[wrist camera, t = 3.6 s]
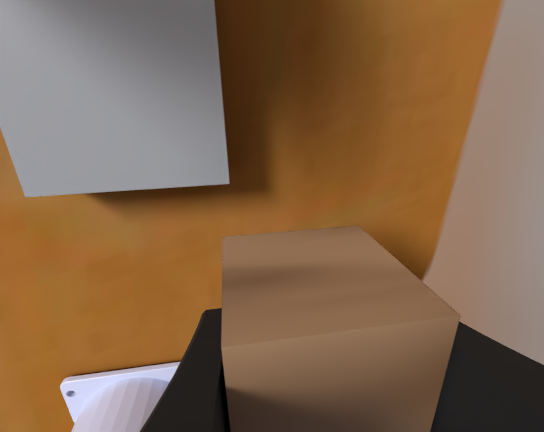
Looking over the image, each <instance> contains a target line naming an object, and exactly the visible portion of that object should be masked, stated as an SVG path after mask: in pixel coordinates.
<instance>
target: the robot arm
mask: <svg viewBox="0 0 544 432" xmlns="http://www.w3.org/2000/svg"><path fill="white" fill-rule="evenodd" d="M221 335H222V308H219V309H211V310H206V311H205V312H204V313H203V314H202V316H201V319H200V322H199V324H198V327H197V329H196V331H195V334H194V336H193V338H192V340H191V342H190V344H189V346H188V348H187V350H186V352H185V354H184V356H183V358H182V360H181V362H174V363H167V364H160V365H152V366H145V367H138V368H131V369H123V370H116V371H109V372H102V373H94V374H87V375H80V376H73V377H68V378H65V379H64V380H63V382H62V384H61V385H60V389H61V392H62V394H63V397H64V399H65V402H66V404H67V406H68V409H69V411H70V414H71V416H72V419H73V421H74V424H75V425H74V427H73V429H72V431H71V432H231V430H230V421H229V412H228V403H227V394H226V385H225V376H224V367H223V358H222V349H221ZM430 432H544V365H542V364H540V363H538V362H536V361H534V360H532V359H530V358H528V357H526V356H524V355H522V354H520V353H518V352H516V351H514V350H512V349H510V348H508V347H506V346H504V345H502V344H500V343H498V342H496V341H494V340H492V339H491V338H489V337H487V336H485V335H483V334H481V333H479V332H477V331H476V330H474V329H472V328H470V327H468V326H467V325H465V324H463V323H461V322H459V323H458V327H457V331H456V334H455V338H454V342H453V346H452V350H451V354H450V357H449V361H448V365H447V369H446V373H445V377H444V380H443V384H442V388H441V392H440V396H439V399H438V403H437V407H436V411H435V415H434V419H433V422H432V426H431V430H430Z"/></svg>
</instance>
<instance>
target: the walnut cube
mask: <svg viewBox="0 0 544 432" xmlns="http://www.w3.org/2000/svg"><path fill="white" fill-rule="evenodd" d="M459 319H460V314H458V313H457V312H456V311H455V310H454V309H452V307H450V306H449V305H448V304H447V303H446V302H445V301H444V300H442V299H441V298H440V297H439V296H438V295H437V294H436V293H435V292H433V291H432V290H431V289H430V288H429V287H428V286H427V285H425V284H424V283H423V282H422V281H421V280H420V279H419V278H417V277H416V276H415V275H414V274H413V273H412V272H411V271H410V270H408V269H407V268H406V267H405V266H404V265H403V264H402V263H400V262H399V261H398V260H397V259H396V258H395V257H394V256H392V255H391V254H390V253H389V252H388V251H387V250H386V249H385V248H383V247H382V246H381V245H380V244H379V243H378V242H377V241H375V240H374V239H373V238H372V237H371V236H370V235H369V234H367V233H366V232H365V231H364V230H363V229H362V228H361V227H359V226H348V227H336V228H324V229H312V230H300V231H288V232H276V233H264V234H252V235H241V236H229V237H223V265H222V335H221V349H222V358H223V367H224V376H225V385H226V394H227V403H228V412H229V421H230V430H231V432H430V430H431V426H432V422H433V419H434V415H435V411H436V407H437V403H438V399H439V396H440V392H441V388H442V384H443V380H444V377H445V373H446V369H447V365H448V361H449V357H450V354H451V350H452V346H453V342H454V338H455V334H456V331H457V327H458V323H459Z"/></svg>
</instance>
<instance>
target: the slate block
mask: <svg viewBox="0 0 544 432" xmlns="http://www.w3.org/2000/svg"><path fill="white" fill-rule="evenodd" d="M0 128H1V131H2V133H3V136H4V139H5V142H6V145H7V147H8V150H9V153H10V156H11V159H12V161H13V164H14V167H15V170H16V173H17V175H18V178H19V181H20V184H21V187H22V189H23V192H24V195H25V197H35V196H50V195H66V194H81V193H97V192H112V191H127V190H143V189H158V188H174V187H189V186H205V185H220V184H230V182H229V165H228V153H227V141H226V129H225V117H224V105H223V93H222V81H221V69H220V57H219V45H218V33H217V22H216V10H215V0H0Z"/></svg>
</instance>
